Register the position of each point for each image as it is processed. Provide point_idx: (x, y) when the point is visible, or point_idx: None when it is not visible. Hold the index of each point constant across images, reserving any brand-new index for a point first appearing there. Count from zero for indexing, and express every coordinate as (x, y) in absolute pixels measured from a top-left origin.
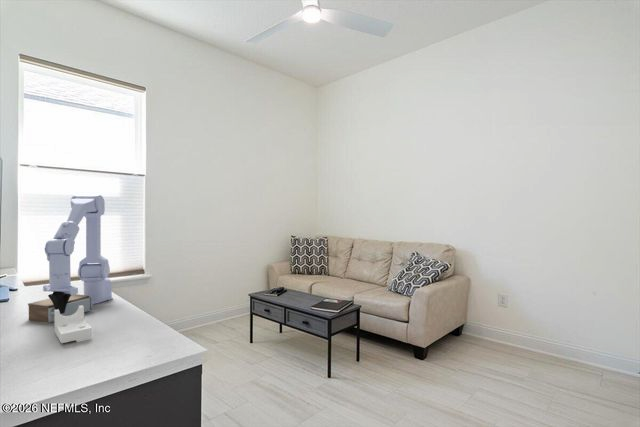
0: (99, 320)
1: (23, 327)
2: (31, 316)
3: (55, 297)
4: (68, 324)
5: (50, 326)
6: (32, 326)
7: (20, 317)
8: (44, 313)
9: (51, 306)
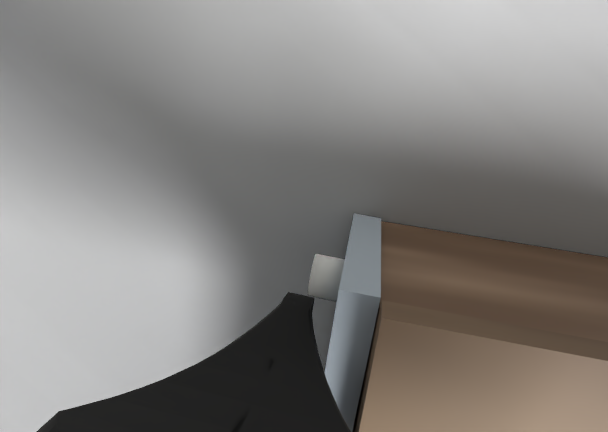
0: (5, 330)
1: (546, 23)
2: None
3: (71, 420)
4: None
5: (250, 124)
6: (459, 81)
7: None
8: (474, 277)
9: (373, 354)
